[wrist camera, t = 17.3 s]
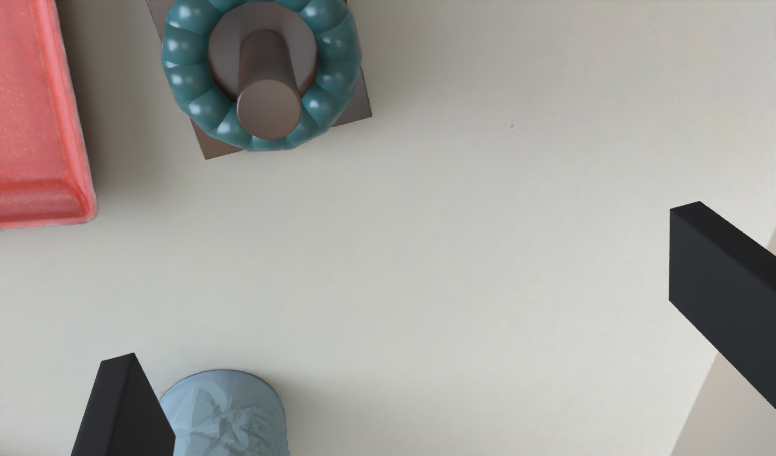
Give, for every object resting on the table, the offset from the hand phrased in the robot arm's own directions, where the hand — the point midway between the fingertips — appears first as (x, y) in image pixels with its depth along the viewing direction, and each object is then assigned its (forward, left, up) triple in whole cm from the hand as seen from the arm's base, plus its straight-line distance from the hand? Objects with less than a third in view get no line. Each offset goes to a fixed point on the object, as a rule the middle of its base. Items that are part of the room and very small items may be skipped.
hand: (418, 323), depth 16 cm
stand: (+3, -3, -22) cm, 22 cm away
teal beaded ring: (+3, -3, -20) cm, 20 cm away
